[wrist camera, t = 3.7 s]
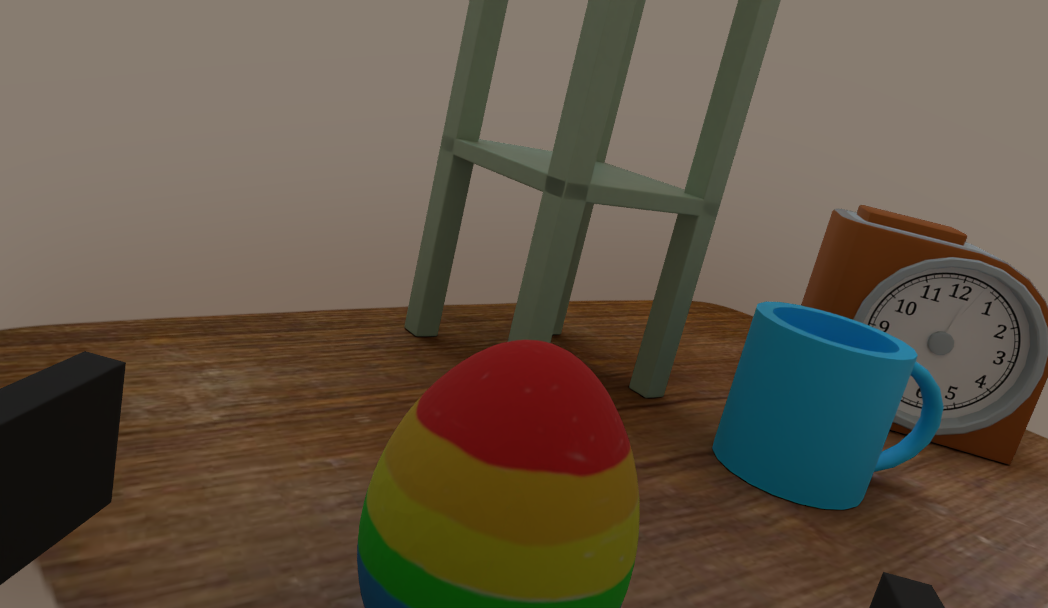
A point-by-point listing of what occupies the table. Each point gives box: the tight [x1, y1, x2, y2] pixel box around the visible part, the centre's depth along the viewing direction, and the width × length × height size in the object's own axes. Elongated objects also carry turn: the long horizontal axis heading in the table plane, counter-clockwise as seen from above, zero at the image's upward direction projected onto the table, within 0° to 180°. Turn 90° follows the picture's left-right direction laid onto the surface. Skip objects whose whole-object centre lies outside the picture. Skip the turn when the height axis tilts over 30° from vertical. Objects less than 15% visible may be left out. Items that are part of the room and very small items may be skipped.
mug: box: [712, 302, 944, 510], centre depth 44 cm, size 12×8×8 cm
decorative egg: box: [357, 340, 639, 608], centre depth 24 cm, size 8×8×10 cm
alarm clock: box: [801, 205, 1048, 465], centre depth 57 cm, size 15×8×14 cm, turn 76°
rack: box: [405, 0, 780, 398], centre depth 47 cm, size 12×12×36 cm
